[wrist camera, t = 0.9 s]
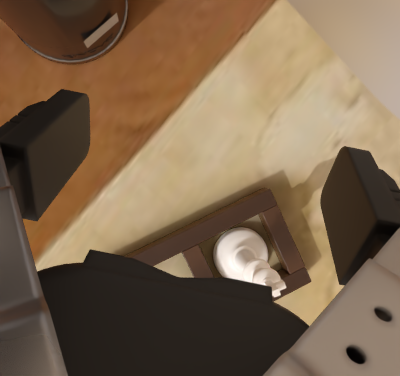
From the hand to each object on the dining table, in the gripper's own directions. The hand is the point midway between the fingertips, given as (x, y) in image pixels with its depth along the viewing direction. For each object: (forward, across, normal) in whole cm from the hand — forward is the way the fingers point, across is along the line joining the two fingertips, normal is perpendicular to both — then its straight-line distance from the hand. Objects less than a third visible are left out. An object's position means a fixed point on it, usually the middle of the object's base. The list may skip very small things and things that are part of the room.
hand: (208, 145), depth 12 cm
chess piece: (+14, -4, +18) cm, 23 cm away
